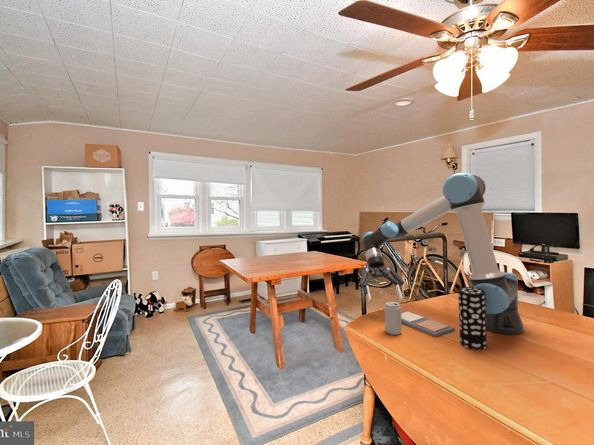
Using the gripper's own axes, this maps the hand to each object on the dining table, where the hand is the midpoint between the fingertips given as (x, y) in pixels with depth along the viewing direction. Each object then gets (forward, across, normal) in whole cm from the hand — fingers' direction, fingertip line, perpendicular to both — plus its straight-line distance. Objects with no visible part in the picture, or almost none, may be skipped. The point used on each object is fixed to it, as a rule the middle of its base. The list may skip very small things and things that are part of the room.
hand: (385, 299), depth 124 cm
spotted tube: (+22, -26, +6) cm, 34 cm away
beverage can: (+13, -1, -4) cm, 13 cm away
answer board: (+8, -15, -8) cm, 19 cm away
